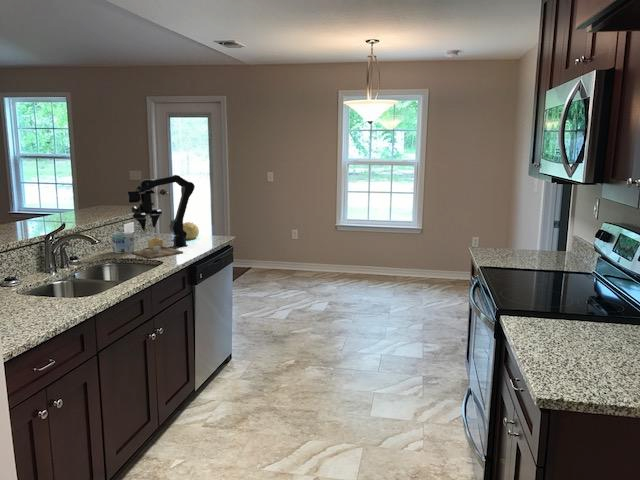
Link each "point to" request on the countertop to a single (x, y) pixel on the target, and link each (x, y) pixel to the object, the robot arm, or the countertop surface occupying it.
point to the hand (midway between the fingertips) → (148, 228)
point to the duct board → (164, 252)
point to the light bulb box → (123, 242)
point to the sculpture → (190, 230)
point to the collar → (154, 242)
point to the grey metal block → (156, 249)
